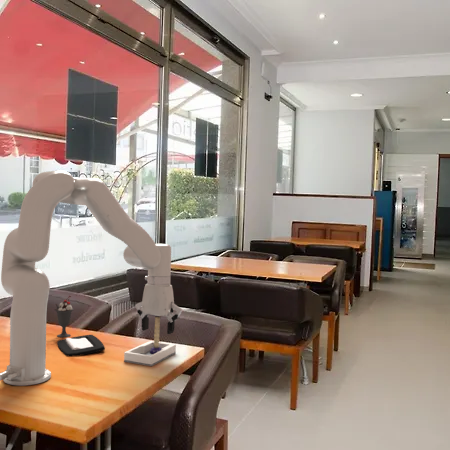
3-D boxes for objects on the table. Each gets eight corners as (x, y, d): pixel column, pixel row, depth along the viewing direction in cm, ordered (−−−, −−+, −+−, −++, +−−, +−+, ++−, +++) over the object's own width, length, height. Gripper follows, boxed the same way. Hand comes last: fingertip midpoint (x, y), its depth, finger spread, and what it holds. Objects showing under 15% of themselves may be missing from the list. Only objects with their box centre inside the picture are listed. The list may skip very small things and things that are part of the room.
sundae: (77, 335, 195) (77, 295, 195) (62, 339, 189) (63, 298, 189) (65, 332, 199) (65, 293, 198) (50, 336, 193) (51, 296, 192)
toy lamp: (152, 350, 177) (153, 301, 176) (165, 351, 176) (166, 302, 176) (148, 353, 172) (149, 304, 172) (161, 355, 172) (163, 304, 171)
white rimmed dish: (151, 366, 161) (151, 356, 161) (124, 361, 165) (124, 352, 165) (175, 353, 176) (175, 344, 176) (149, 349, 180) (150, 340, 180)
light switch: (54, 337, 185) (93, 330, 192) (54, 345, 185) (93, 338, 192) (65, 352, 168) (107, 344, 174) (65, 361, 168) (108, 352, 174)
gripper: (130, 279, 173) (129, 330, 174) (176, 284, 167) (175, 337, 168) (142, 277, 180) (141, 326, 181) (187, 281, 174) (185, 332, 174)
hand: (157, 331), depth 174 cm, fingers open, 9 cm apart
